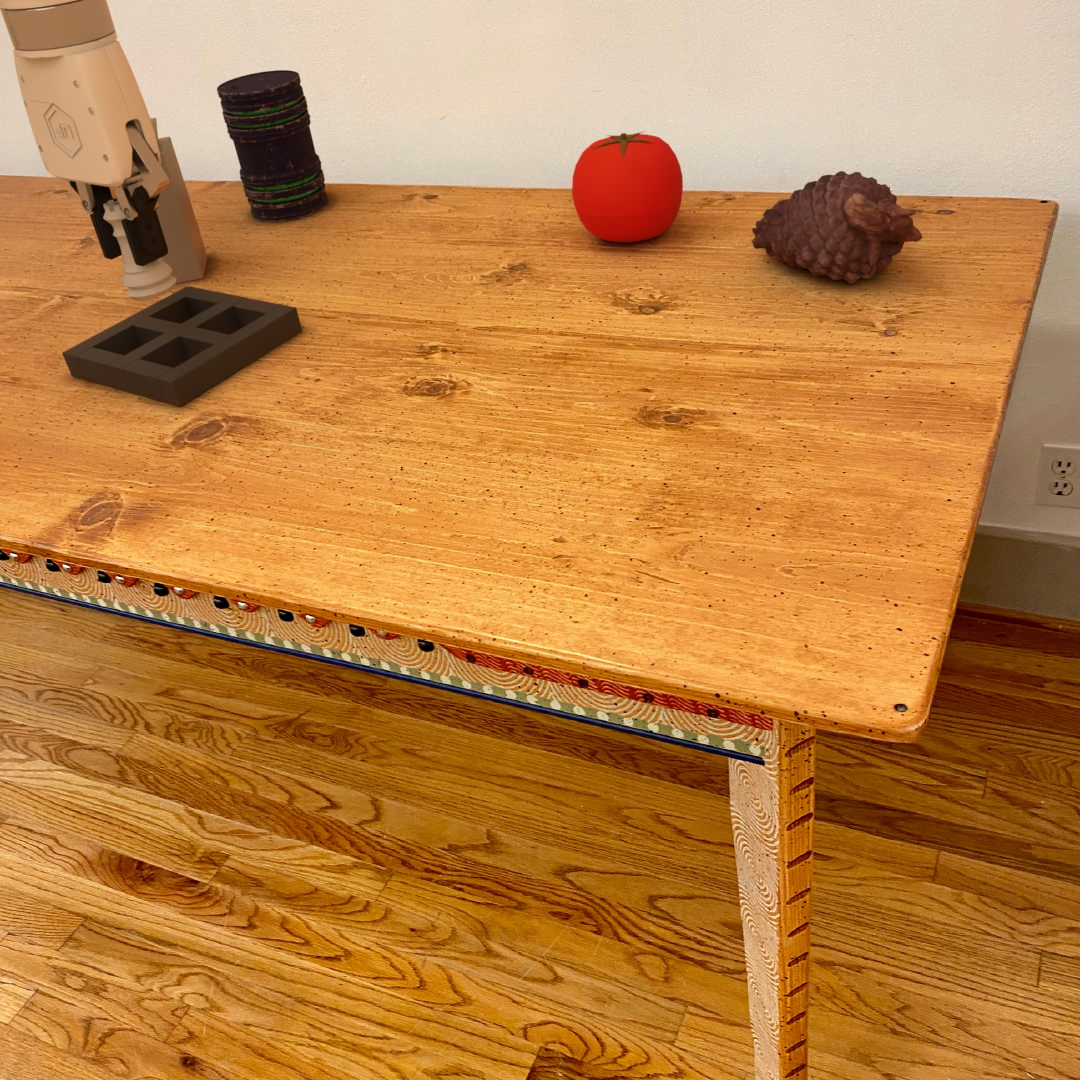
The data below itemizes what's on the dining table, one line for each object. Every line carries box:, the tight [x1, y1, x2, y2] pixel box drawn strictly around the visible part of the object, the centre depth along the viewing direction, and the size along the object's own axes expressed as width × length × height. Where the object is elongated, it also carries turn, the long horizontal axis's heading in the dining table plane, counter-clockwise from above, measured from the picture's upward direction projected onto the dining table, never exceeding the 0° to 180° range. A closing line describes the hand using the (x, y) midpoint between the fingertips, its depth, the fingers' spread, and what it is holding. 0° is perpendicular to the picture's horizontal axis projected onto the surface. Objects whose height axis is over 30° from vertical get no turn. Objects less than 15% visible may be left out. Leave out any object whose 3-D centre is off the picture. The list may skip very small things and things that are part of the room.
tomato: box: [571, 130, 684, 243], centre depth 111 cm, size 11×12×10 cm
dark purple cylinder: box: [216, 69, 330, 223], centre depth 131 cm, size 10×10×15 cm
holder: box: [61, 285, 303, 407], centre depth 103 cm, size 16×16×2 cm
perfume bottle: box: [115, 117, 208, 284], centre depth 116 cm, size 7×7×18 cm
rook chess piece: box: [103, 196, 177, 301], centre depth 93 cm, size 4×4×8 cm
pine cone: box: [751, 170, 924, 285], centre depth 99 cm, size 18×10×10 cm
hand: (136, 254), depth 93 cm, fingers closed on rook chess piece, 3 cm apart
